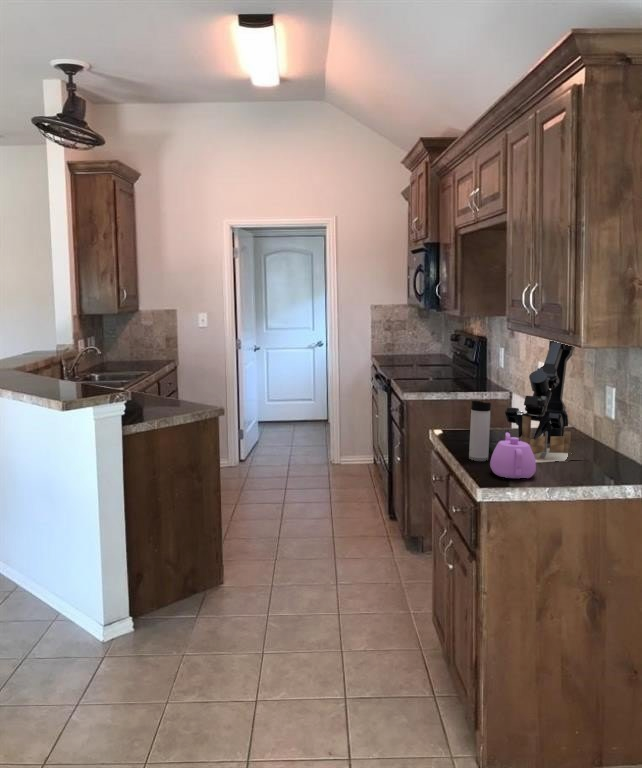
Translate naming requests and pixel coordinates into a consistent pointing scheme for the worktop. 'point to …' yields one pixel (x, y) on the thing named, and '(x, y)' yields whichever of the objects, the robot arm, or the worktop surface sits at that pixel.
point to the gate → (535, 445)
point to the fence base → (559, 442)
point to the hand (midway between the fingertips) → (526, 437)
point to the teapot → (513, 459)
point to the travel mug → (479, 431)
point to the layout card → (550, 456)
